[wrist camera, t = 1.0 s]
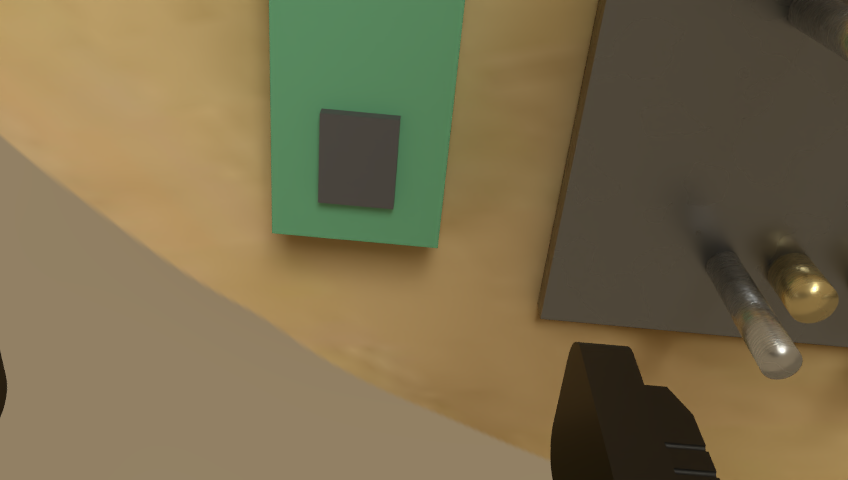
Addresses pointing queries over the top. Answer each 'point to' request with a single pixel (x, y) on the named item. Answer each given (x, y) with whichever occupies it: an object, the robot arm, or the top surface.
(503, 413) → the top surface
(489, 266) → the top surface
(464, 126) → the top surface
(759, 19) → the chassis
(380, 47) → the board
